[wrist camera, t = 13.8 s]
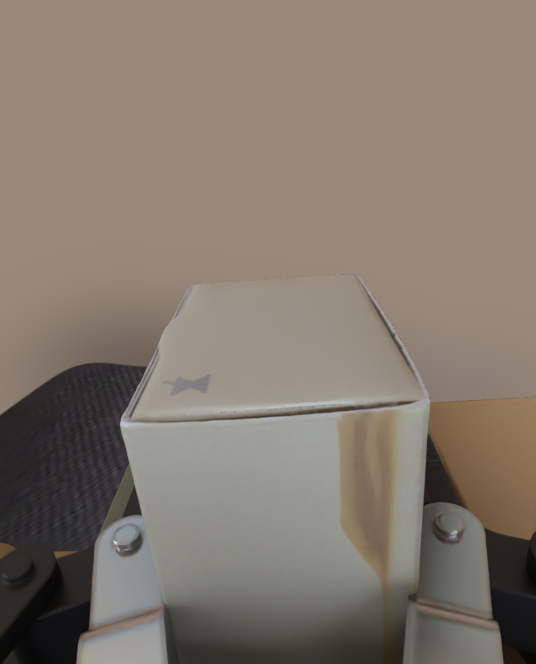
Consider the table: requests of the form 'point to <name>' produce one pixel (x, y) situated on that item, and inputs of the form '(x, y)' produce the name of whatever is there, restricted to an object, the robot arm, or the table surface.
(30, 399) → the table surface
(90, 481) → the table surface
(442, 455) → the cabinet
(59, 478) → the table surface
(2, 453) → the table surface
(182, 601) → the cosmetic box
